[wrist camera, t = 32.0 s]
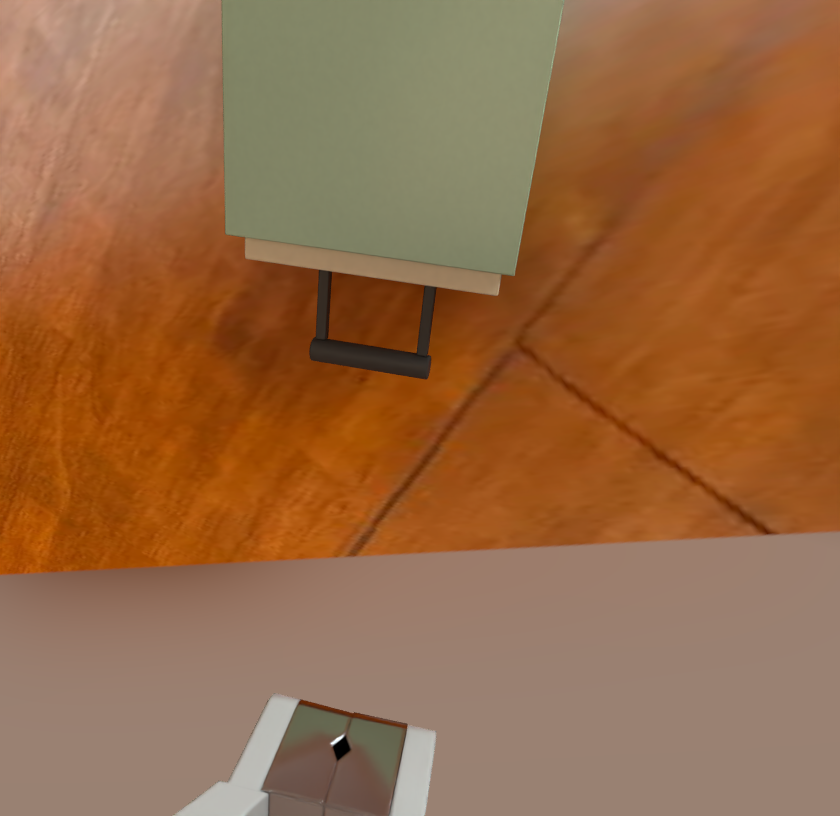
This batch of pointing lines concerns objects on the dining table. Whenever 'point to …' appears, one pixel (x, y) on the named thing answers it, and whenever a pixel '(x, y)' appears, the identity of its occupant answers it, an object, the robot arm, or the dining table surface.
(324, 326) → the drawer
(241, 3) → the cabinet
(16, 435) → the dining table surface
